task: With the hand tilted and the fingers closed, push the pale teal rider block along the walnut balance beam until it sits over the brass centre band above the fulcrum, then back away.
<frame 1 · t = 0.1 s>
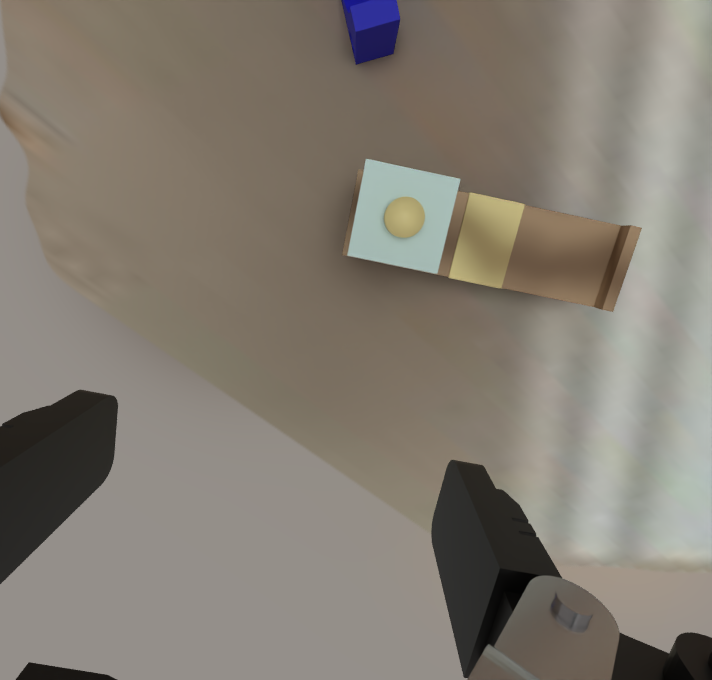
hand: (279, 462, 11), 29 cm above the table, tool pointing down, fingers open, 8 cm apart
beam: (465, 240, 38), on the table
rider: (397, 219, 27), point 11 cm above the table, slide at 0.0 cm
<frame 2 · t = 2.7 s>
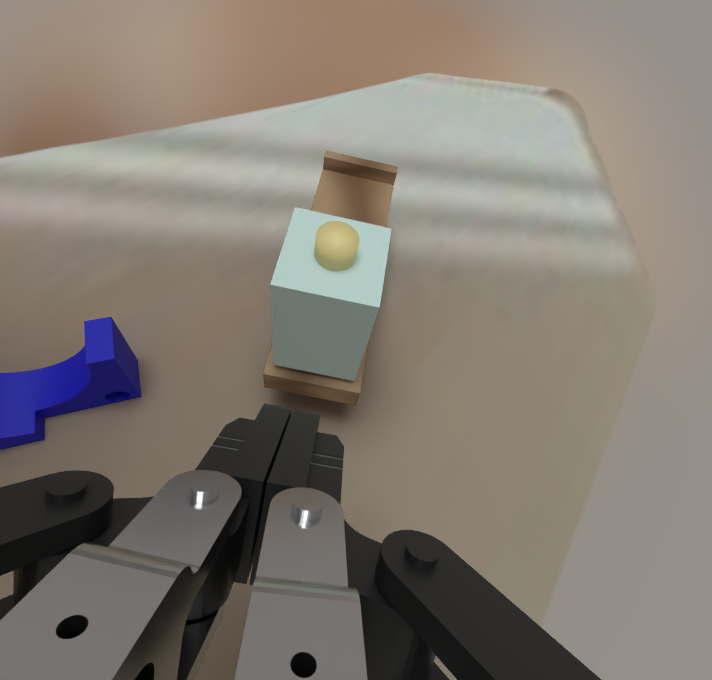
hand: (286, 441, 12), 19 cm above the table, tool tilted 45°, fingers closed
beam: (331, 306, 37), on the table
cable clip: (47, 409, 30), on the table
rider: (328, 295, 24), point 11 cm above the table, slide at 0.0 cm
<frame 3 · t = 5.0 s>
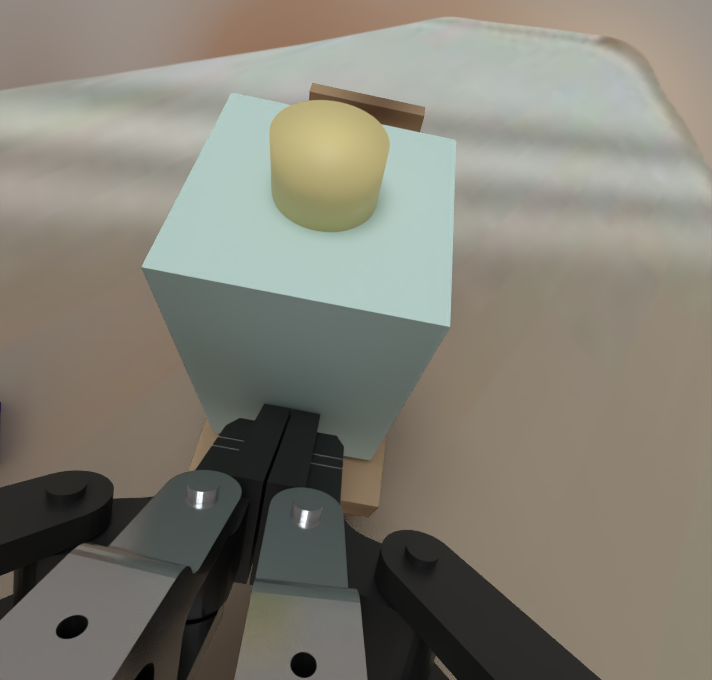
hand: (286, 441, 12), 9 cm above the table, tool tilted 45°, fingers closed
beam: (325, 326, 24), on the table
rider: (315, 298, 11), point 11 cm above the table, slide at 0.8 cm, touching gripper
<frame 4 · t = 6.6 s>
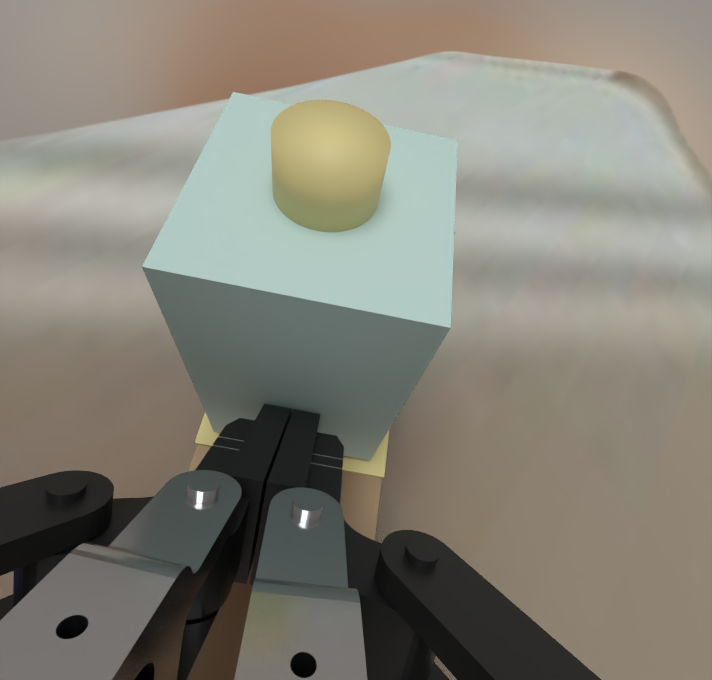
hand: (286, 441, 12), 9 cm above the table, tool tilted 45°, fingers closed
beam: (298, 453, 20), on the table
rider: (316, 297, 11), point 11 cm above the table, slide at 7.9 cm, touching gripper
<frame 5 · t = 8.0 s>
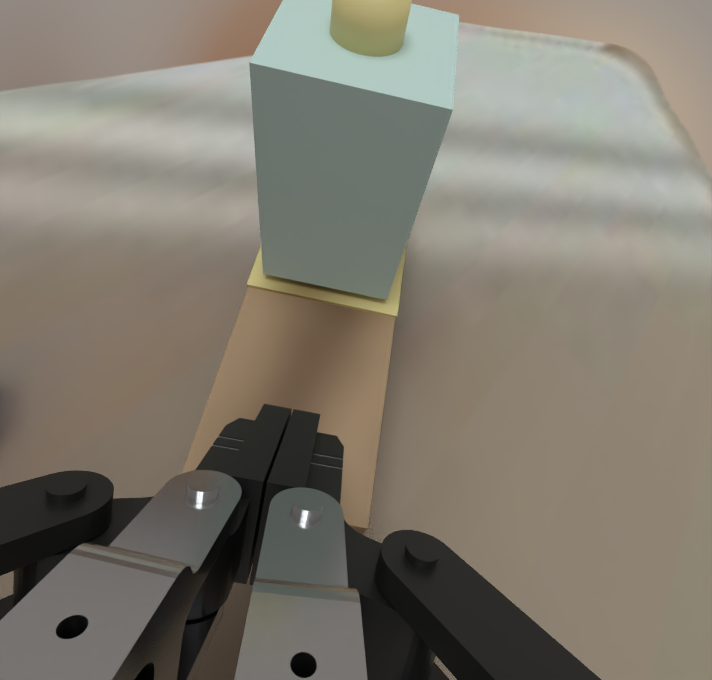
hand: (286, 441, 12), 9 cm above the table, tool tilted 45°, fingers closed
beam: (321, 336, 24), on the table
rider: (350, 146, 15), point 11 cm above the table, slide at 7.9 cm
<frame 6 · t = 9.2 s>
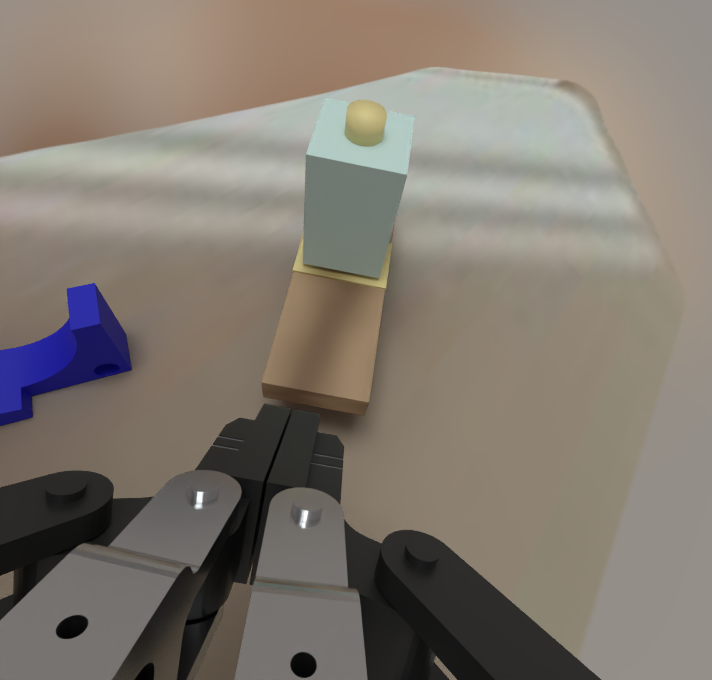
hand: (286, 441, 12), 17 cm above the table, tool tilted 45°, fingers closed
beam: (336, 308, 35), on the table
cable clip: (34, 388, 29), on the table
rider: (355, 187, 26), point 11 cm above the table, slide at 7.9 cm
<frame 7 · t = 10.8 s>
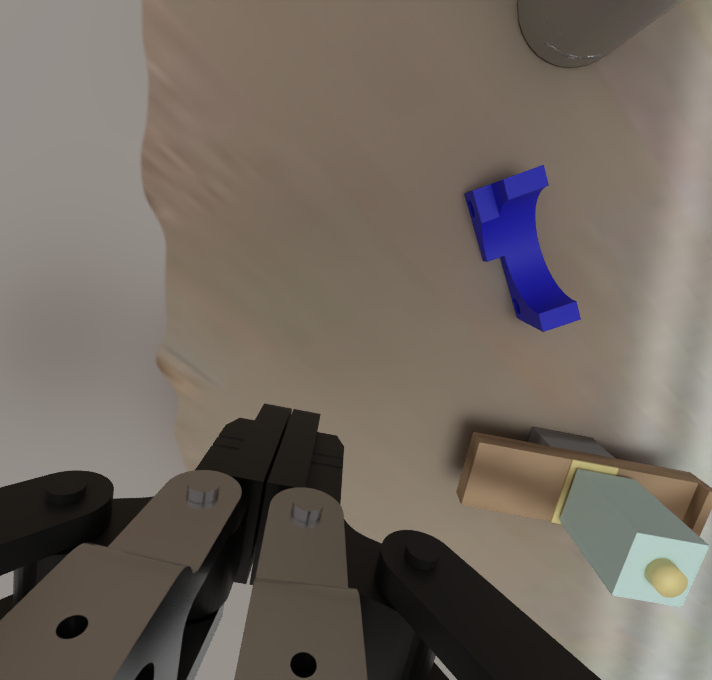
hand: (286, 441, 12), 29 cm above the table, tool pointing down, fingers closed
beam: (553, 459, 44), on the table
cable clip: (506, 251, 39), on the table
rider: (629, 536, 33), point 11 cm above the table, slide at 7.9 cm
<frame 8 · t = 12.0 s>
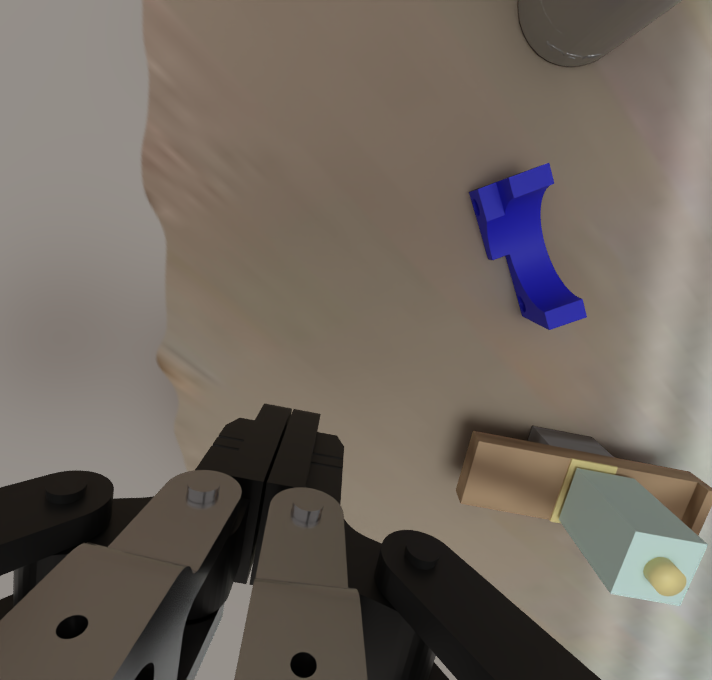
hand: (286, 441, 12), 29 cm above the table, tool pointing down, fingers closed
beam: (552, 458, 44), on the table
cable clip: (511, 250, 39), on the table
rider: (628, 535, 33), point 11 cm above the table, slide at 7.9 cm
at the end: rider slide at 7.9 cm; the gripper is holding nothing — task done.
